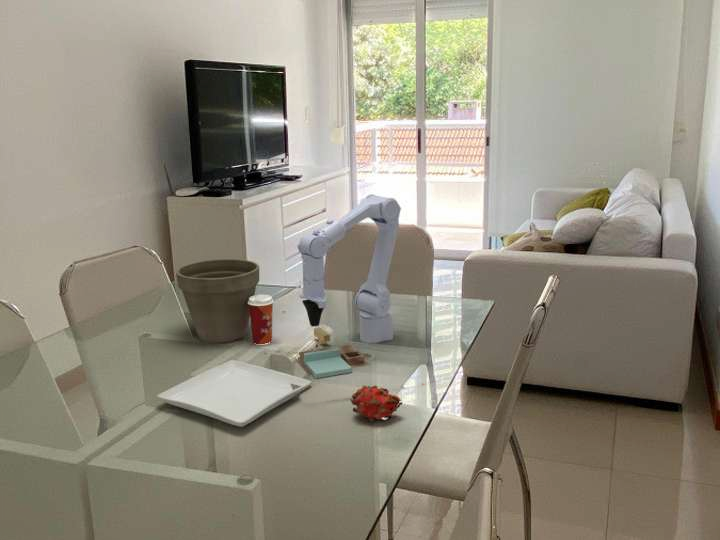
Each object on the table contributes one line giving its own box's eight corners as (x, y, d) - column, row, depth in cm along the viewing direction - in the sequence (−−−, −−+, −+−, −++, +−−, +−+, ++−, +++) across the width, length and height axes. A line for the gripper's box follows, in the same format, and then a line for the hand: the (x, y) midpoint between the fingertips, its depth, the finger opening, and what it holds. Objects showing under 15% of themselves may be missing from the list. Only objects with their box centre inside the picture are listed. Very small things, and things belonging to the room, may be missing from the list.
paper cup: (270, 347, 206) (268, 302, 202) (245, 345, 207) (243, 300, 204) (278, 338, 213) (277, 294, 210) (254, 336, 215) (252, 293, 211)
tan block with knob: (330, 350, 203) (330, 334, 202) (323, 352, 202) (323, 335, 201) (320, 343, 209) (320, 327, 208) (313, 344, 208) (313, 328, 207)
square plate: (242, 437, 154) (241, 421, 153) (155, 409, 168) (154, 394, 167) (313, 392, 177) (313, 378, 176) (232, 370, 191) (231, 357, 190)
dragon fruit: (347, 421, 164) (397, 428, 164) (348, 415, 156) (401, 423, 156) (352, 385, 167) (401, 393, 167) (353, 378, 159) (405, 386, 159)
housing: (349, 349, 204) (349, 338, 203) (371, 369, 190) (371, 357, 189) (290, 358, 198) (290, 347, 197) (308, 380, 183) (308, 367, 182)
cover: (338, 358, 193) (338, 348, 192) (351, 372, 184) (351, 360, 183) (304, 364, 189) (303, 353, 188) (316, 378, 180) (315, 366, 180)
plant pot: (178, 326, 224) (173, 260, 219) (254, 318, 232) (251, 254, 226) (184, 353, 201) (179, 281, 196) (269, 344, 209) (266, 274, 203)
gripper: (291, 273, 195) (293, 319, 199) (307, 286, 182) (309, 335, 186) (315, 270, 198) (316, 316, 201) (333, 283, 185) (334, 332, 188)
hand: (314, 325), depth 194 cm, fingers closed
